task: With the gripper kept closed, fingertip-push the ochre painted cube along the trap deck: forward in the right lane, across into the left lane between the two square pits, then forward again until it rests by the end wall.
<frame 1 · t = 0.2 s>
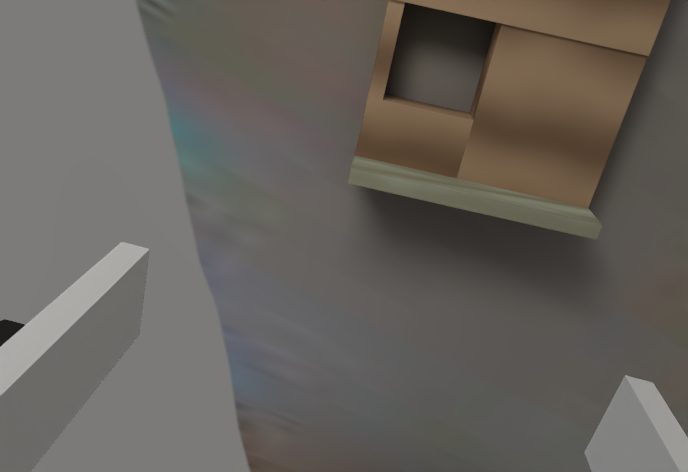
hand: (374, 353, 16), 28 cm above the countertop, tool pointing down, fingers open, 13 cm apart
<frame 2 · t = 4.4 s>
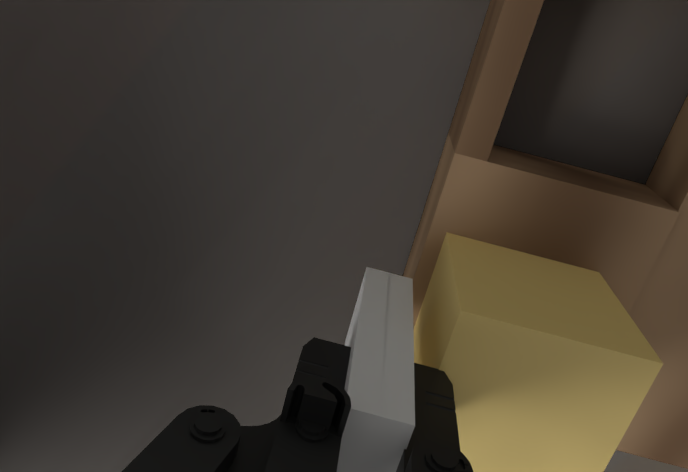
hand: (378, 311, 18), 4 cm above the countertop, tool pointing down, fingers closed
cube: (496, 318, 20), point 3 cm above the countertop, touching gripper, trap deck
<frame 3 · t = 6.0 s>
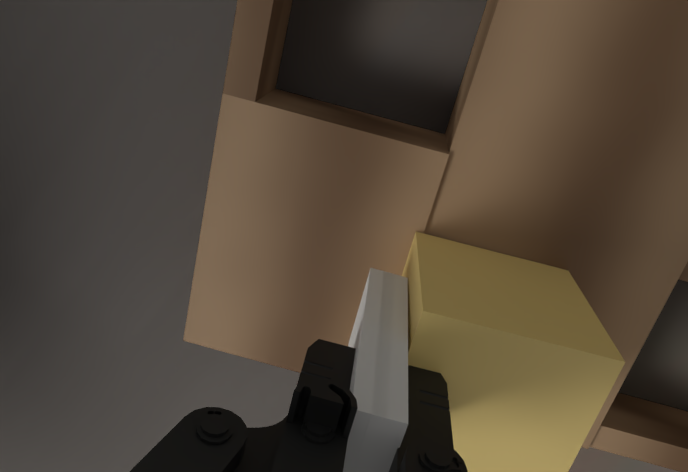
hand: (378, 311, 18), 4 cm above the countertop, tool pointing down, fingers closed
cube: (467, 317, 20), point 3 cm above the countertop, touching gripper, trap deck
trap deck: (603, 206, 20), on the countertop
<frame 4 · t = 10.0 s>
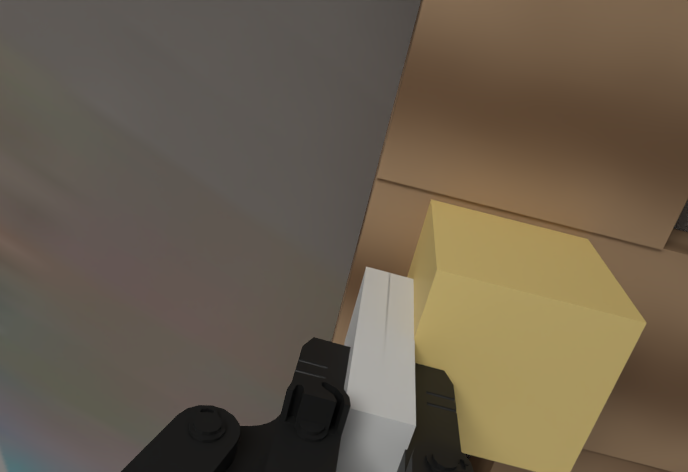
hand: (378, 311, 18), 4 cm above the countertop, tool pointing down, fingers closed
cube: (483, 288, 19), point 3 cm above the countertop, touching gripper, trap deck
trap deck: (541, 350, 23), on the countertop
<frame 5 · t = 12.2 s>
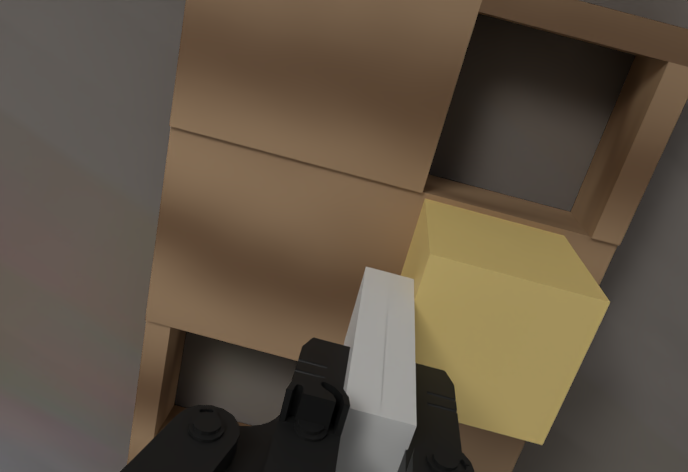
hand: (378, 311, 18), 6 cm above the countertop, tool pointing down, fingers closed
cube: (471, 279, 21), point 3 cm above the countertop, touching trap deck
trap deck: (357, 298, 25), on the countertop
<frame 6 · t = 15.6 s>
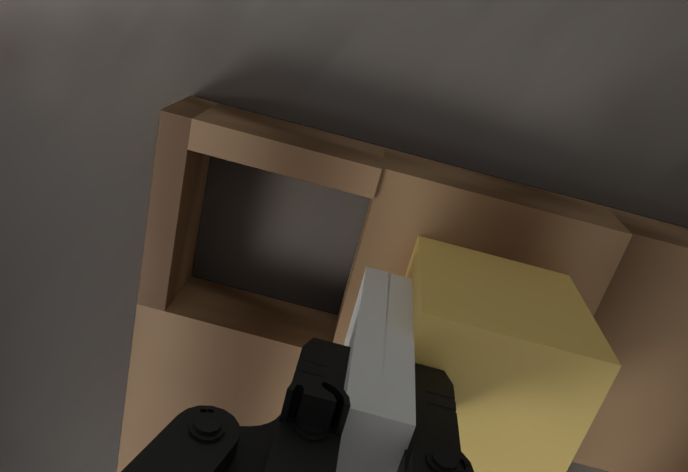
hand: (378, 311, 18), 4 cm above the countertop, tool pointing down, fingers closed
cube: (468, 320, 20), point 3 cm above the countertop, touching gripper, trap deck
trap deck: (476, 374, 24), on the countertop
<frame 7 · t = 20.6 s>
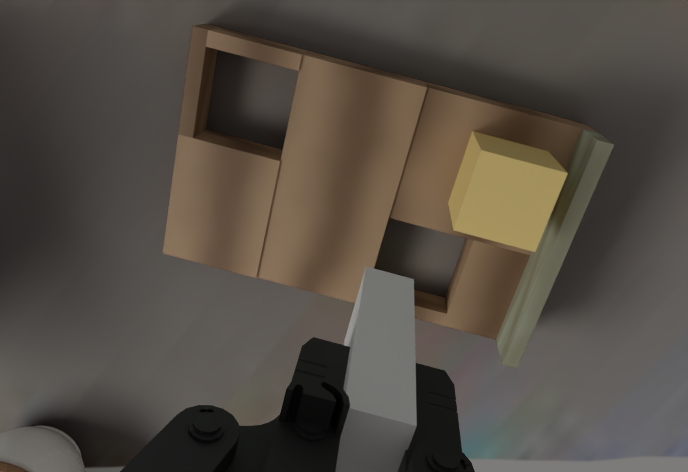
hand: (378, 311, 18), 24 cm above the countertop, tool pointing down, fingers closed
cube: (496, 177, 38), point 2 cm above the countertop, touching trap deck
lidded jar: (51, 449, 55), on the countertop
trap deck: (366, 185, 42), on the countertop
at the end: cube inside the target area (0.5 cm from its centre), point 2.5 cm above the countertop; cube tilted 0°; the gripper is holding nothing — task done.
